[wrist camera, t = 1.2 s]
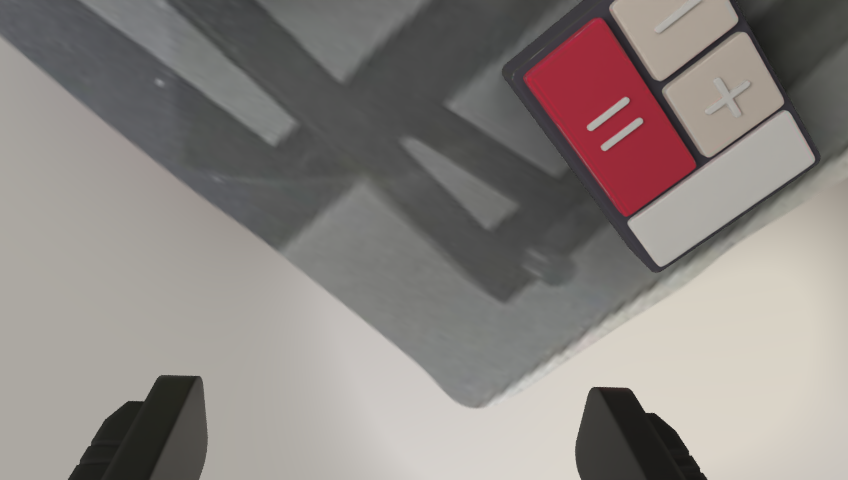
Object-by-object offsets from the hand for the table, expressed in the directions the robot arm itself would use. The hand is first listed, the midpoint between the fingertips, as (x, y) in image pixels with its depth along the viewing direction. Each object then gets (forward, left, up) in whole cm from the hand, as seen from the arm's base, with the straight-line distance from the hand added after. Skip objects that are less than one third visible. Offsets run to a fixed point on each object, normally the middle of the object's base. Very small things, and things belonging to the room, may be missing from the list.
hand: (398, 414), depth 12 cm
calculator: (-7, +14, -24) cm, 28 cm away
